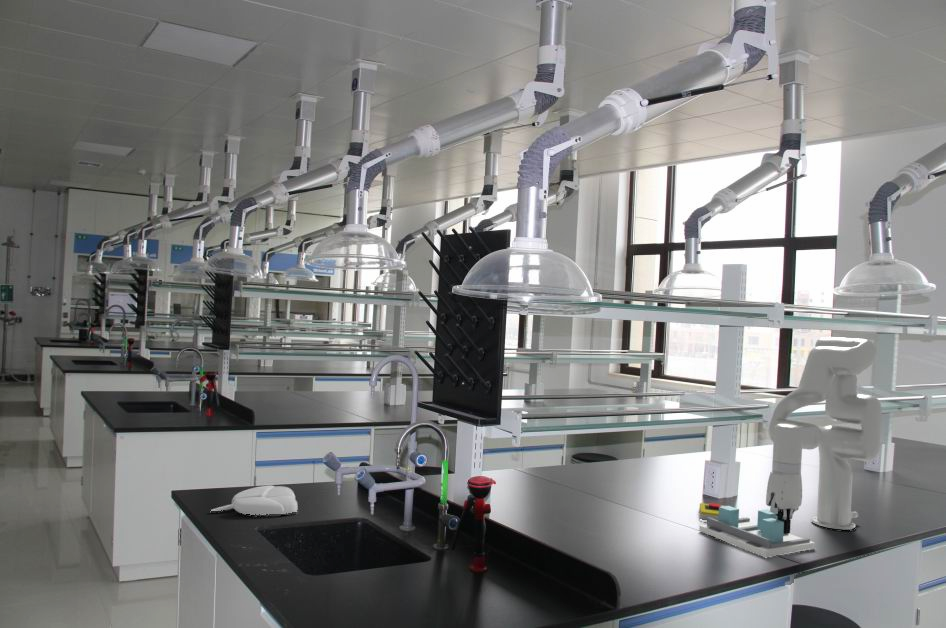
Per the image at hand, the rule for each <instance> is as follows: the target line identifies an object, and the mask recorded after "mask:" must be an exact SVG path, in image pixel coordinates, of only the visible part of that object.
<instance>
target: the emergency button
mask: <svg viewBox="0 0 946 628" xmlns="http://www.w3.org/2000/svg"><path fill="white" fill-rule="evenodd" d="M722 506H723V505H722V504H720V503H715V502H711V503H710V502H709V503H705V502H704V503H703V502H701V503H699V509H698V514H699V513H700V517H699V520H700V519H702V520H707V518H712V519H715V520H718V516H719V507H722Z"/></svg>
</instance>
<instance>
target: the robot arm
mask: <svg viewBox="0 0 946 628" xmlns="http://www.w3.org/2000/svg"><path fill="white" fill-rule="evenodd" d="M876 357H877V347H876V345H875V343H874V342H873V341H872V340H869V339H867V338H866V339H865V338H852V337H840V336H839V337H838V336H837V337H836V336H827V337H821V338H819V339H817V340H816V342H815V346H814V347H813V348H812V349H810V351H809V353H808V356H807V359H806V362H805V366H804V367H803V372H802V373H801V378H800V381H799V383H798V387H797V388H796V389H794V390H792V391H791V392H789V393H788V394H787V395H786V396H784V397H783V398H782V399H781V400H780V401H779V402H778V403H777V404H776V405H775V408H774V410H773V413H772V415H771V418H770V422H769V425H768V437H769V440H770V441H771V442H772V443H773V445H772V446H773V447H772V462H771V463H772V466H771V468H772V469H771V472H770V473H769V476H768V481H767V487H766V494H765V504H766V506H768V507H769V508H770V509H769V510H770V512H772V513H775V514H776V517H777V520H779V521H782V522H784V531H783V533H784V534H787V533H789V534H791V521H792V519H793V516H794V513H795V512H797V511H798V510H799V508H800V507H801V506H802V503H803V481H802V479H803V478H802V460H803V459H802V453H803V450H814V449H817V448H818V455H819V456H818V457H819V459H818V461H819V465H818V466H819V467H818V468H819V469H818V484H817V485H818V486H817V487H818V489H817V490H818V492H817V507H816V508H817V510H816V515H815V516H812V517H811V519H810V520H812V521H811V523H812V522H814V523H816V524H818V525H822V526H825V527H830V528H838V529H852V528H855V527H856V523H854V522H852V520H853V519H856V518H858V517H859V512H857V511H851V510H852V497H853V496H852V493H853V491H852V490H853V477H854V476H853V470H852V469H853V468H852V466H851V465H850V463H849V461H848V460H847V459H851V460H857V461H863V462H873V461H875V460H876V459H877V458H878V456H879V452H880V447H881V433H882V432H881V431H882V419H883V418H882V417H883V408H882V404H881V401H880V400H879V399H878V398H877V397H876V396H874V395H870V394H862V393H858V392H857V388H858V387H857V386H858V385H857V384H858V382H857V381H858V378H857V377H858V376H857V375H860V374H861V373H862V372H864V371H865V370H867V369H868V368H870V367H871V366H872V365H873V364H874V363H875V362H874V361H876ZM824 401H825V406H824V407H825V408H824V409H825V410H824V411H825V412H824V413H825V416H826V417H827V419H829V420H831V421H834V422H839V423H846V424H852V425H853V424H854V425H859V426H860V427H861V428H854V427H853V428H852V427H850V426H849V427H847V426H841V425H835V424H834V425H825V426H822V427H821V428H820V427H819V426H818V425H816V424H813V423H810V422H803V421H797V420H790V419H789V417H790V416H791V414H793V413H794V412H795V411H796V410H798V409H801V408H803V407H804V408H805V407H807V406H811V405H814V404H819V403H822V402H824ZM856 528H857V527H856ZM856 528H855V529H856Z"/></svg>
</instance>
